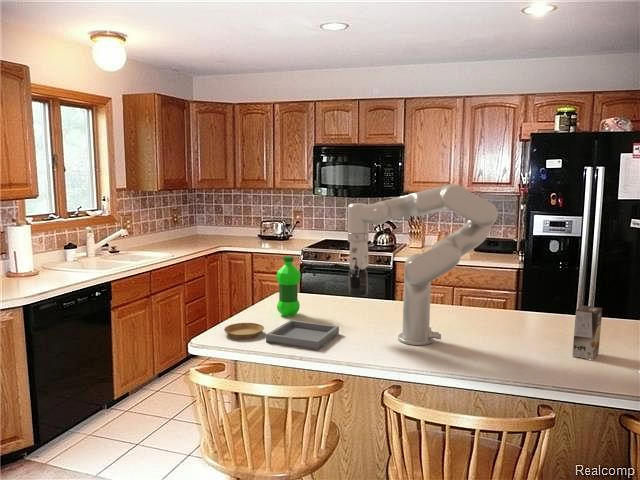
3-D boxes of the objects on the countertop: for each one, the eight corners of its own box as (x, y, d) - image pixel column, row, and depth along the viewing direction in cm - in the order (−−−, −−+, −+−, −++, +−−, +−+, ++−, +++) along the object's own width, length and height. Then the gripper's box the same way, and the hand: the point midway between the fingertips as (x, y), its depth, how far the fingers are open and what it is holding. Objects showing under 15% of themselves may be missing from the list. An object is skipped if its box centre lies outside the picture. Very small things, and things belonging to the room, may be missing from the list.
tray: (338, 334, 197) (338, 326, 197) (317, 350, 179) (317, 341, 178) (290, 327, 205) (290, 320, 204) (266, 342, 186) (266, 334, 186)
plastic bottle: (273, 312, 226) (273, 255, 223) (297, 311, 229) (297, 254, 226) (278, 318, 217) (278, 259, 213) (303, 317, 220) (303, 258, 217)
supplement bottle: (367, 292, 196) (367, 260, 194) (368, 296, 189) (368, 263, 187) (348, 292, 196) (348, 260, 194) (349, 296, 189) (348, 263, 188)
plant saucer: (256, 342, 187) (256, 335, 187) (217, 339, 190) (217, 332, 190) (269, 330, 201) (269, 324, 201) (232, 328, 204) (232, 321, 204)
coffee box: (592, 361, 171) (596, 313, 169) (571, 356, 175) (575, 309, 173) (599, 354, 178) (602, 307, 176) (578, 349, 182) (582, 304, 180)
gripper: (362, 240, 180) (362, 291, 183) (374, 235, 197) (374, 281, 199) (341, 240, 183) (341, 290, 185) (354, 234, 199) (354, 280, 201)
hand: (358, 285), depth 192 cm, fingers closed on supplement bottle, 6 cm apart
